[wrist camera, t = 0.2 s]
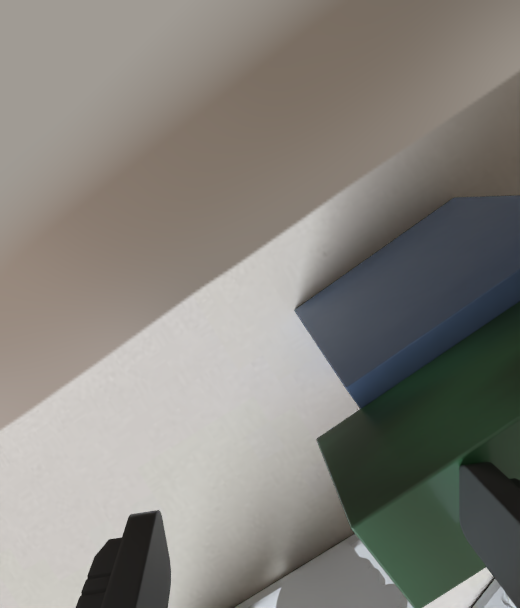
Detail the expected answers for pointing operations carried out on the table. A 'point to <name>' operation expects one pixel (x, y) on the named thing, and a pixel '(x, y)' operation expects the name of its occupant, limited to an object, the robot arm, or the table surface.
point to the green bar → (429, 458)
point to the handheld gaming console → (494, 598)
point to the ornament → (333, 583)
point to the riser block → (419, 294)
